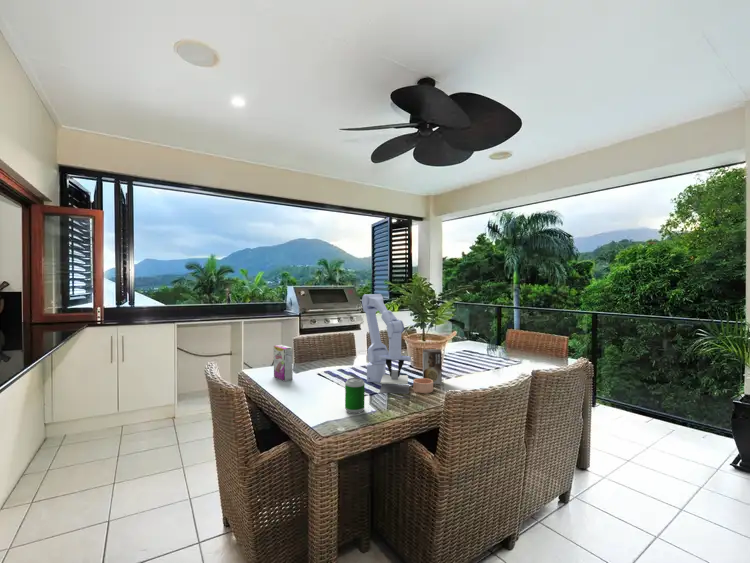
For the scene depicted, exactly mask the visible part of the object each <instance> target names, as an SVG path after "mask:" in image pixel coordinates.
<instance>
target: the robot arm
mask: <svg viewBox="0 0 750 563" xmlns="http://www.w3.org/2000/svg"><path fill="white" fill-rule="evenodd" d="M361 298H362V299H361V306H362V309H363V310H362V311H363V312H364V313H365V317H366V322H367V327H368V333H369V337H370V343H371V344H370V345H369V347H368V348H367V360H368V362H367V364H366V383H381V379H382V376H383V375H387V374H386V366H387V369H388V373H389V375H390V377H391V372H392V370H393V369H392V365H393V364H392V362H394V361H395V362H396V361H397V362H398V363H397V367H398V368H397V370H398V377H399V376H400V375H401V370H402V369H403V366H404V362H412V361H411V360H412V359H411V356H408V355H402V333H403V332H404V329H405V324H404V322H403V320H400V319H398V318H397V317H396V315H395V314H394V313H393V312H392V310H389V309H387V306H386V305H385V303H384V297H383V295H382V294H381V293H374V294H373V293H372V294H366V293H365V294H363V295H362V296H361ZM377 312H379V313H380V315H381V320H382V321H383V323H384V324H385V326H386V332H387V337H388V348H387V345H386V344H385V343H383V342H382V339H381V333H380V329H379V328H380V327H379V324H378V319H377Z"/></svg>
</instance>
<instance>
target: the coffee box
mask: <svg viewBox="0 0 750 563" xmlns="http://www.w3.org/2000/svg"><path fill="white" fill-rule="evenodd" d="M442 355H443V354H442V349H434V348H433V349H432V348H431V349H430V348H429V349H428V348H427V349H426V348H425V349H424V348H422V378H427V379H431V380H433V385H439V386H440V385H441V386H442V385H443V377H442V376H443V375H442V373H443V371H442V367H443V364H442V361H443V360H442V357H443V356H442Z"/></svg>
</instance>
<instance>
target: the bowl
mask: <svg viewBox="0 0 750 563" xmlns="http://www.w3.org/2000/svg"><path fill="white" fill-rule="evenodd" d="M412 382H413V383H412V385H413V387H412V388H413V389H412V390H413V392H416V393H420V394H428V393H432V392H434V384H433V380H431V379H427V378H423V377H420V378H418V377H417V378H414V379H413V381H412Z"/></svg>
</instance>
